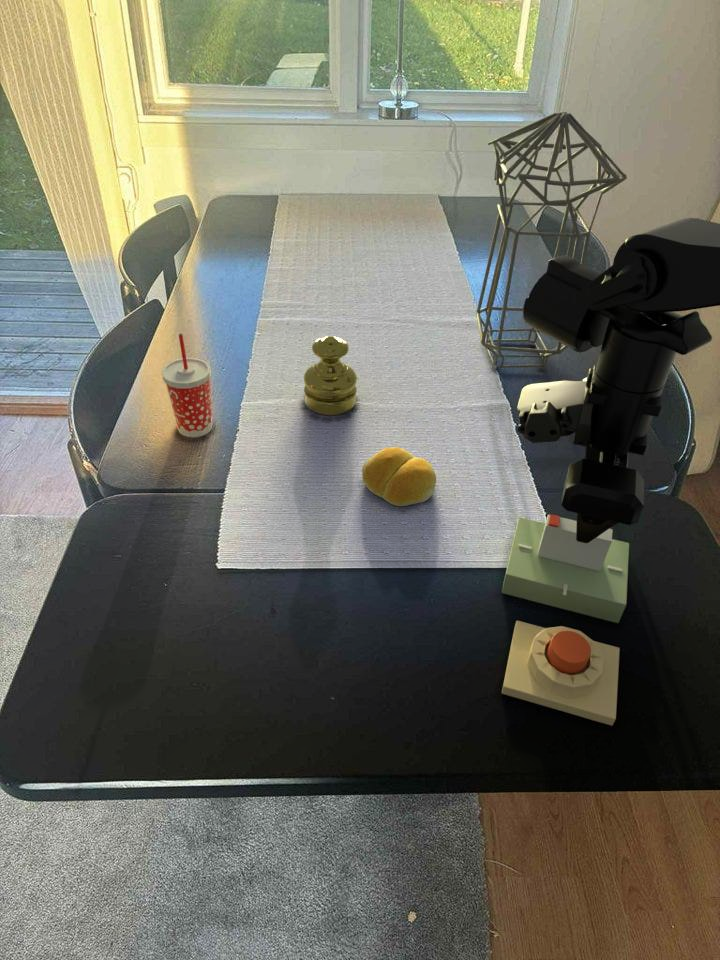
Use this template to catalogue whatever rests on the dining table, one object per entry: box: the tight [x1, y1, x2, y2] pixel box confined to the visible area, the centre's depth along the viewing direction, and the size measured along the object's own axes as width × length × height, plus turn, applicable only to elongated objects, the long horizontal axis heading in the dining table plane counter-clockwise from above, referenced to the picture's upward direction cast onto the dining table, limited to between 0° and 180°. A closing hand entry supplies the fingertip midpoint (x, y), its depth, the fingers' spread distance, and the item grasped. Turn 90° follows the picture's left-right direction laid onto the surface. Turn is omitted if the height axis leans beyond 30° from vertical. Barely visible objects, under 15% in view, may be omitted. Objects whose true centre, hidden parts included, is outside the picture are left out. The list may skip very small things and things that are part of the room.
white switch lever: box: [538, 513, 614, 571], centre depth 72 cm, size 6×2×5 cm, turn 72°
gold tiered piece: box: [303, 335, 358, 416], centre depth 96 cm, size 7×8×10 cm
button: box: [547, 631, 591, 674], centre depth 64 cm, size 4×4×2 cm
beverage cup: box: [161, 333, 214, 438], centre depth 90 cm, size 6×6×14 cm
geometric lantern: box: [475, 111, 628, 369], centre depth 99 cm, size 16×16×35 cm
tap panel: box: [501, 516, 630, 624], centre depth 75 cm, size 12×11×3 cm
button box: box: [501, 620, 621, 727], centre depth 66 cm, size 10×8×3 cm
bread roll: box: [361, 446, 437, 507], centre depth 85 cm, size 8×9×4 cm
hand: (585, 509), depth 69 cm, fingers open, 9 cm apart
